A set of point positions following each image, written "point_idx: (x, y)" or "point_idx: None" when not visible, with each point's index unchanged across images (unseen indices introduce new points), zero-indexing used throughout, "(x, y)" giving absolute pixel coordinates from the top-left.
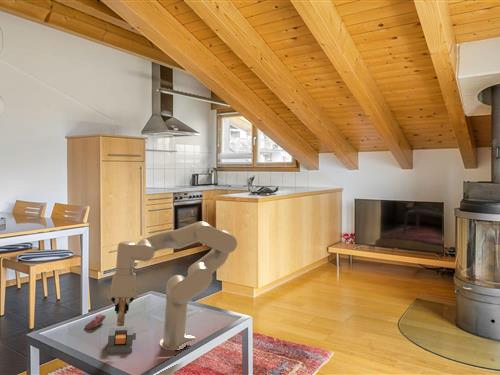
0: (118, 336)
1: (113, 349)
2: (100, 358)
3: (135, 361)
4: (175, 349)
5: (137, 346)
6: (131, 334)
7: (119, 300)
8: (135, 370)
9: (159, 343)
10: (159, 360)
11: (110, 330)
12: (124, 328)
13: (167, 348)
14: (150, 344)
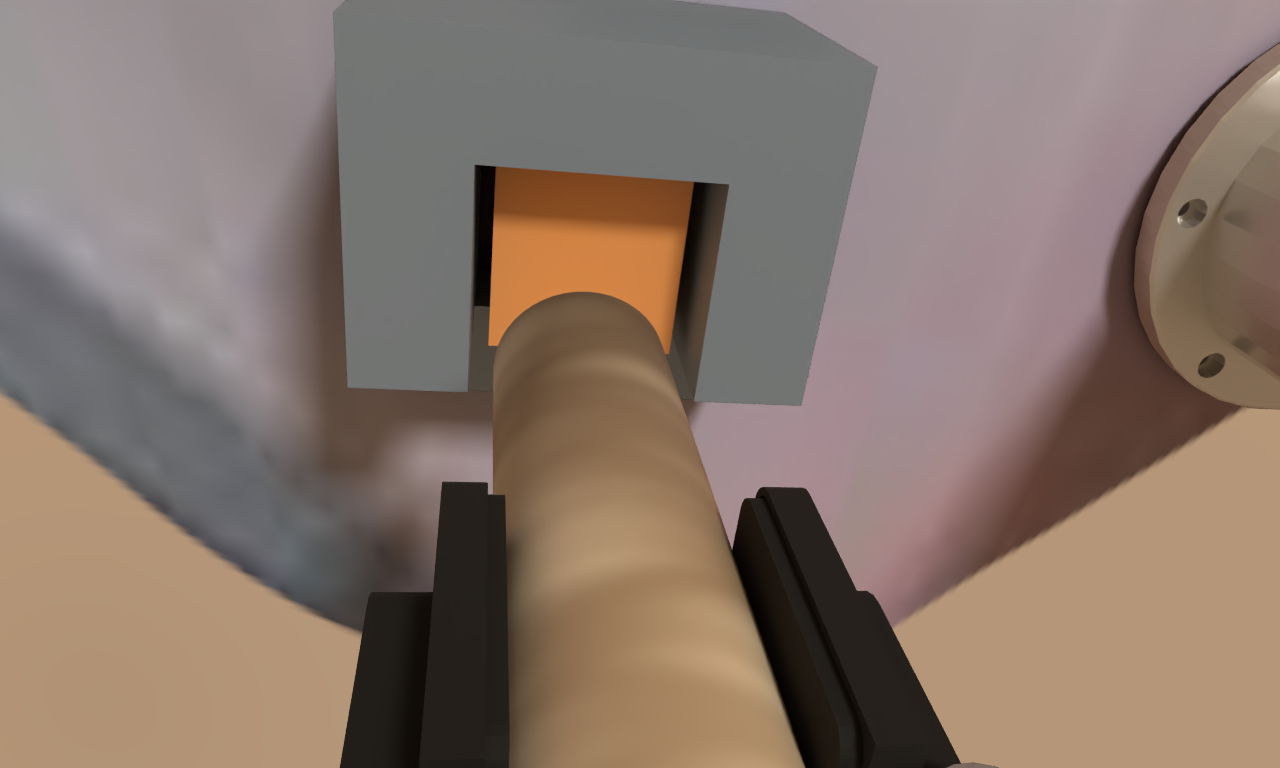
0: (543, 276)
1: (471, 382)
2: (310, 426)
3: None
4: (1269, 405)
5: None
6: (776, 393)
7: None
8: None
9: (1162, 215)
10: (993, 550)
11: (365, 152)
12: (680, 90)
13: (1190, 383)
14: (1040, 136)
